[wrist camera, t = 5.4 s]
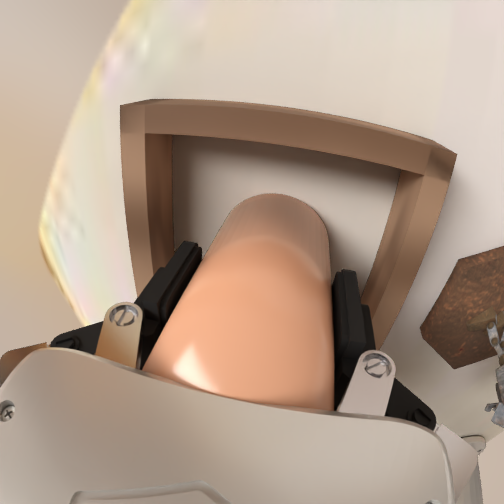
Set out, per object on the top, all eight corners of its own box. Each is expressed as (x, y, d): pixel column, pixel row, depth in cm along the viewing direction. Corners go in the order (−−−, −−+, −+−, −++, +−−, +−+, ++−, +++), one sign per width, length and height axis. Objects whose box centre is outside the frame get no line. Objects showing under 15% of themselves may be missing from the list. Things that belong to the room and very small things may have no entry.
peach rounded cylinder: (339, 205, 14) (369, 438, 5) (307, 322, 18) (288, 506, 9) (224, 185, 14) (89, 376, 5) (217, 305, 18) (151, 475, 9)
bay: (365, 333, 18) (369, 367, 16) (160, 296, 19) (143, 325, 17) (432, 140, 12) (457, 154, 9) (151, 99, 13) (120, 105, 11)
